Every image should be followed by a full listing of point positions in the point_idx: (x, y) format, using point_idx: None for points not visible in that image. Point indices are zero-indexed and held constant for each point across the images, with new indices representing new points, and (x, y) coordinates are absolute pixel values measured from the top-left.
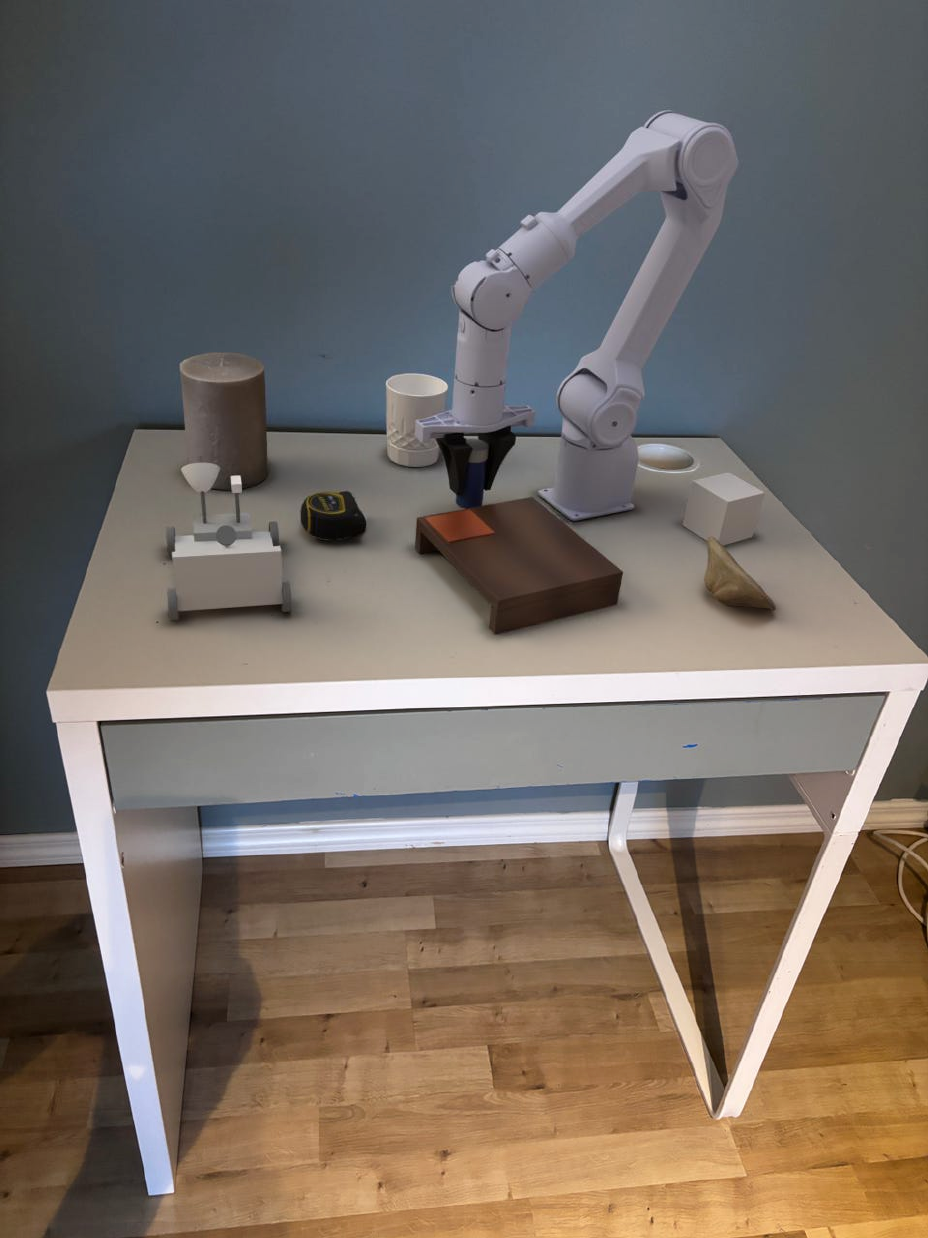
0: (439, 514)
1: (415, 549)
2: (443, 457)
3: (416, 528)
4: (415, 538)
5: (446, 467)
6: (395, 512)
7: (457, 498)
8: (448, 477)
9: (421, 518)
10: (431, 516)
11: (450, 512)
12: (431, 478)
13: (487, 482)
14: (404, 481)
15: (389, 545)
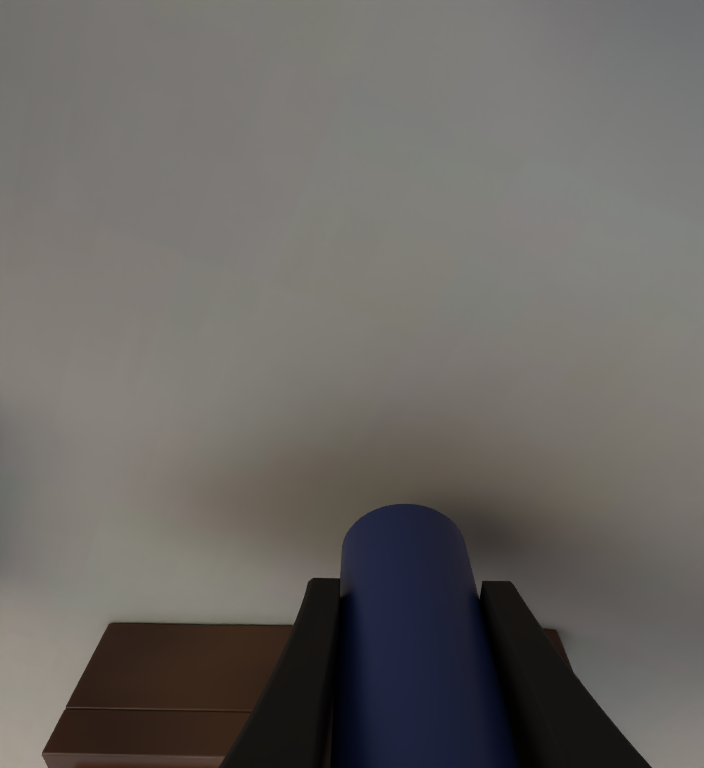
0: (143, 761)
1: (110, 626)
2: (228, 753)
3: (67, 708)
4: (88, 663)
5: (266, 686)
6: (103, 392)
7: (340, 573)
8: (295, 623)
9: (59, 762)
10: (105, 761)
11: (195, 762)
12: (442, 89)
13: None
14: (256, 68)
15: (27, 582)
